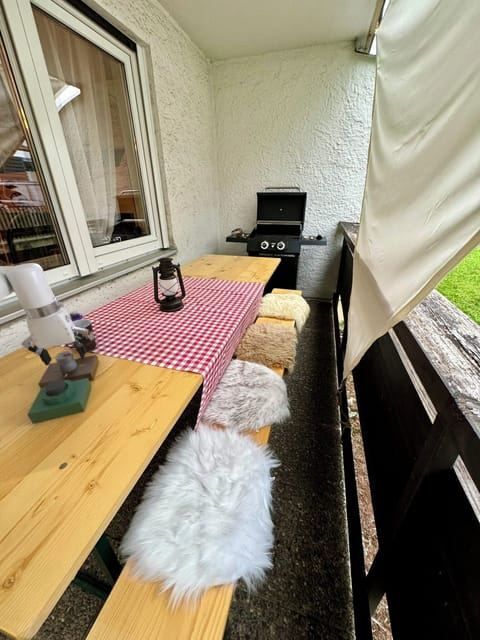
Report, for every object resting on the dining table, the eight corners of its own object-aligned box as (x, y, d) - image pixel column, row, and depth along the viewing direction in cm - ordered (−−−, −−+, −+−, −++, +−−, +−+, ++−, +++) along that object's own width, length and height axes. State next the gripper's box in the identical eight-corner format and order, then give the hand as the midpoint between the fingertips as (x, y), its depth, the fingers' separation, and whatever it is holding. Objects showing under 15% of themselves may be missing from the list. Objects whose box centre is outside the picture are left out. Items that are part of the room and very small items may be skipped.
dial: (59, 374, 79) (52, 360, 76) (63, 365, 82) (57, 351, 80) (75, 370, 80) (69, 356, 77) (78, 362, 83) (72, 348, 81)
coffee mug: (91, 339, 101) (82, 317, 97) (104, 345, 97) (96, 322, 93) (60, 355, 93) (49, 331, 88) (74, 362, 89) (63, 337, 84)
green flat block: (33, 424, 66) (23, 408, 63) (46, 396, 74) (38, 382, 72) (84, 411, 69) (77, 396, 66) (91, 386, 77) (85, 372, 75)
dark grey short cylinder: (45, 398, 67) (42, 392, 66) (51, 386, 71) (48, 381, 70) (64, 393, 68) (61, 388, 67) (69, 383, 72) (66, 377, 71)
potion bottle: (67, 344, 99) (55, 316, 94) (85, 332, 106) (74, 306, 101) (84, 347, 97) (73, 319, 91) (101, 335, 104) (92, 308, 98)
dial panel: (42, 391, 77) (37, 383, 75) (53, 371, 85) (49, 363, 84) (93, 380, 80) (90, 372, 78) (99, 361, 88) (96, 354, 87)
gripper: (80, 298, 76) (98, 346, 85) (12, 309, 72) (39, 358, 81) (73, 309, 70) (94, 359, 78) (-1, 321, 66) (29, 373, 74)
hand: (66, 359), depth 79 cm, fingers open, 9 cm apart
